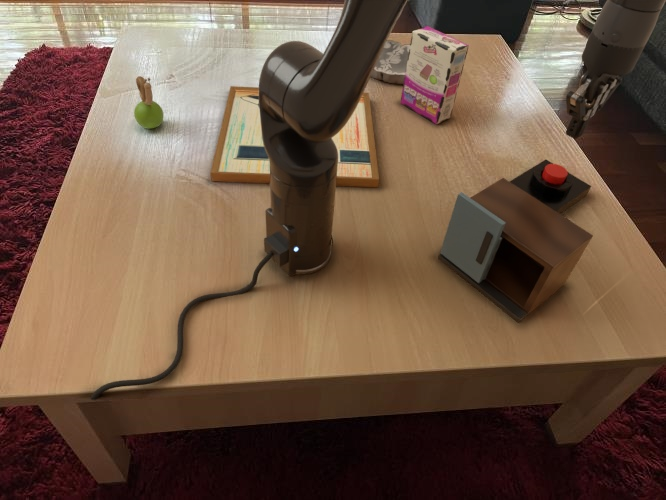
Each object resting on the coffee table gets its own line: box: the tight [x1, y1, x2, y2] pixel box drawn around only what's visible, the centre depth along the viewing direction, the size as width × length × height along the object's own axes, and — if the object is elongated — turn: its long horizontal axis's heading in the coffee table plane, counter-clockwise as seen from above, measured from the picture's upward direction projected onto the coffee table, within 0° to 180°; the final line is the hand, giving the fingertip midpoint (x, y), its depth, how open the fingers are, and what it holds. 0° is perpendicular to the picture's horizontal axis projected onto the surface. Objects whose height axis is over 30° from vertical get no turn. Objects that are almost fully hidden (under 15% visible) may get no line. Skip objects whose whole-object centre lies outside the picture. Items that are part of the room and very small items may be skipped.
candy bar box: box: [399, 25, 470, 125], centre depth 110 cm, size 11×5×16 cm, turn 42°
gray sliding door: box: [439, 191, 506, 283], centre depth 78 cm, size 1×8×12 cm, turn 40°
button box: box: [509, 159, 592, 215], centre depth 97 cm, size 12×10×4 cm
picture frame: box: [209, 85, 380, 188], centre depth 105 cm, size 30×2×30 cm
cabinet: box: [437, 177, 594, 323], centre depth 80 cm, size 12×16×11 cm
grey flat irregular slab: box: [370, 39, 410, 85], centre depth 127 cm, size 20×17×3 cm
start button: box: [542, 163, 569, 185], centre depth 95 cm, size 4×4×2 cm
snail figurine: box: [133, 75, 164, 130], centre depth 101 cm, size 5×6×12 cm
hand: (572, 135), depth 89 cm, fingers closed
